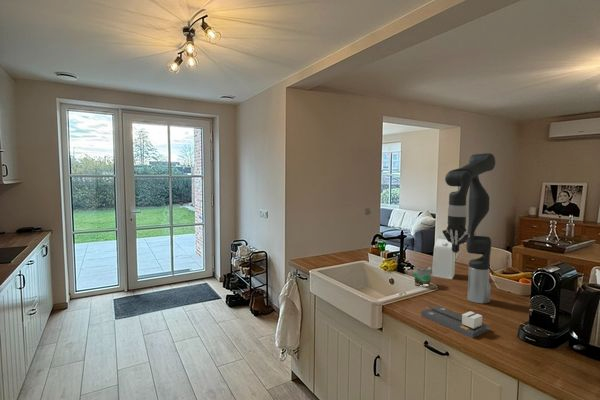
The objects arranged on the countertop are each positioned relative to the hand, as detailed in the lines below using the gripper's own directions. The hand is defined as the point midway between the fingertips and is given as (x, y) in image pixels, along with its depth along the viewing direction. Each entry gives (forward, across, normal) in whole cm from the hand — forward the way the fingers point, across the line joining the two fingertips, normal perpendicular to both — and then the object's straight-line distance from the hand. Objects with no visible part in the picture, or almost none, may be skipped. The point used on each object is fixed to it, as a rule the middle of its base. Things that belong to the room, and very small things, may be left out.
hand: (455, 252), depth 147 cm
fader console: (+28, +6, -10) cm, 31 cm away
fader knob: (+26, +14, -10) cm, 31 cm away
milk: (+30, -36, +46) cm, 66 cm away
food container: (+29, -30, +20) cm, 46 cm away
